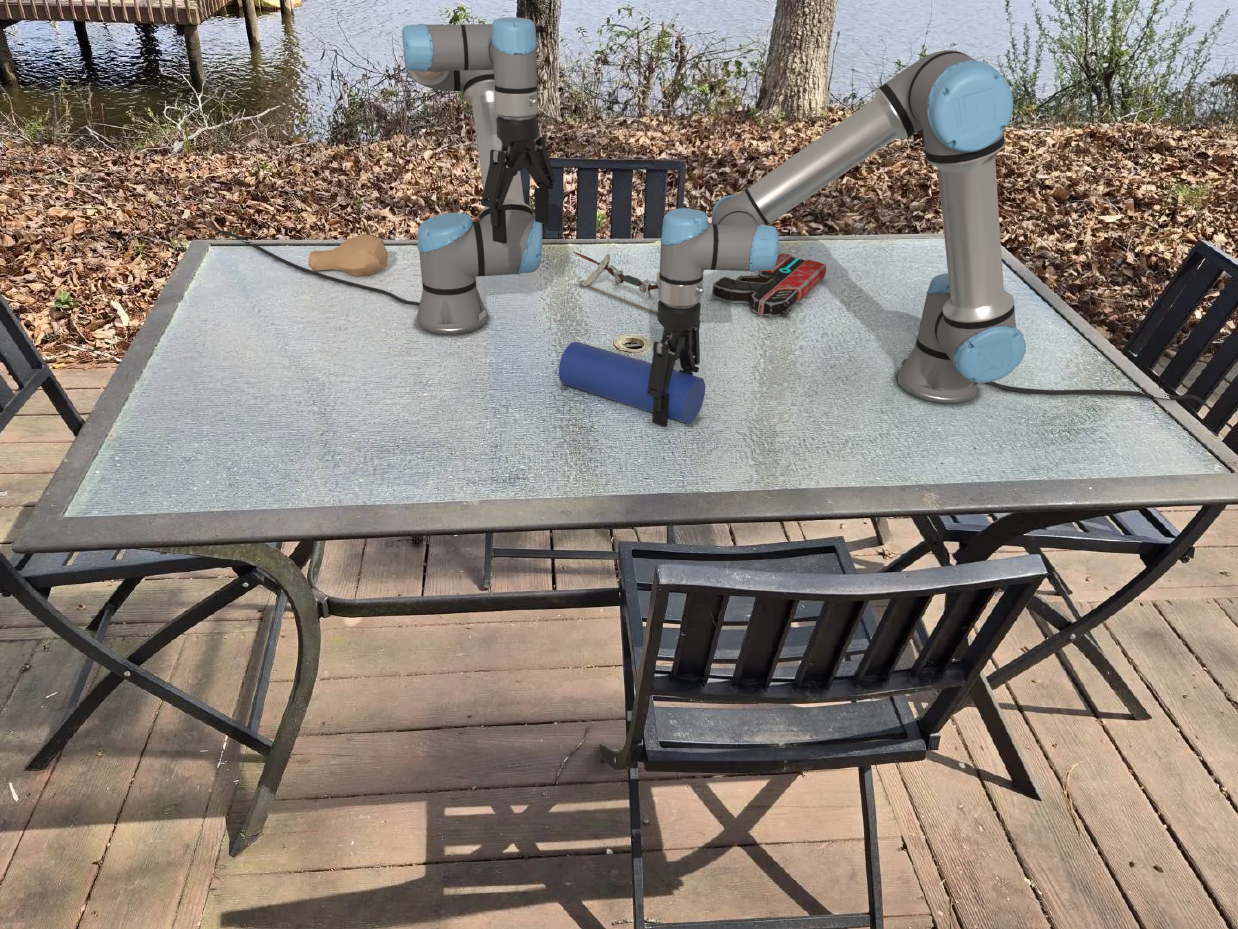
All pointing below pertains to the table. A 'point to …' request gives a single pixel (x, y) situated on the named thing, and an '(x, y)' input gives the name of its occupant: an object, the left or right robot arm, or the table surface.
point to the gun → (772, 286)
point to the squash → (353, 256)
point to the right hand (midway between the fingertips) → (672, 412)
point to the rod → (628, 380)
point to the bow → (619, 278)
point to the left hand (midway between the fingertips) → (521, 231)
